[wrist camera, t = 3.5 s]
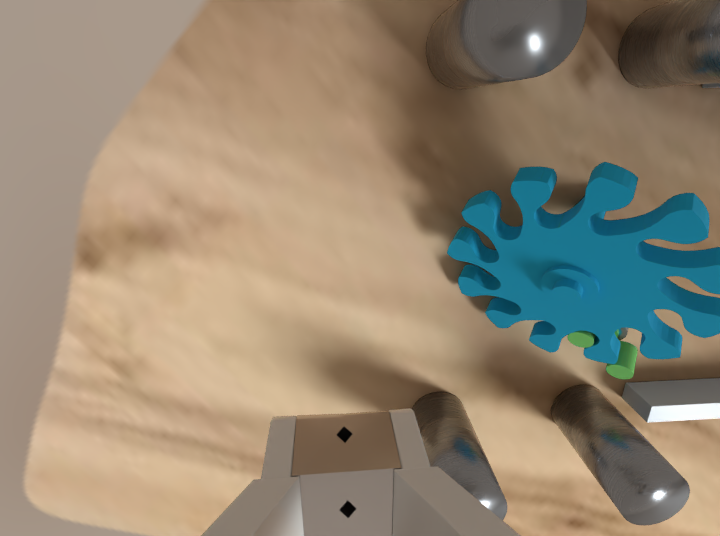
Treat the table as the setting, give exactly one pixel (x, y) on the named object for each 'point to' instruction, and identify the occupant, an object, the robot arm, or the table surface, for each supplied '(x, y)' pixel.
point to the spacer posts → (527, 60)
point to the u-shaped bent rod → (675, 392)
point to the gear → (591, 267)
